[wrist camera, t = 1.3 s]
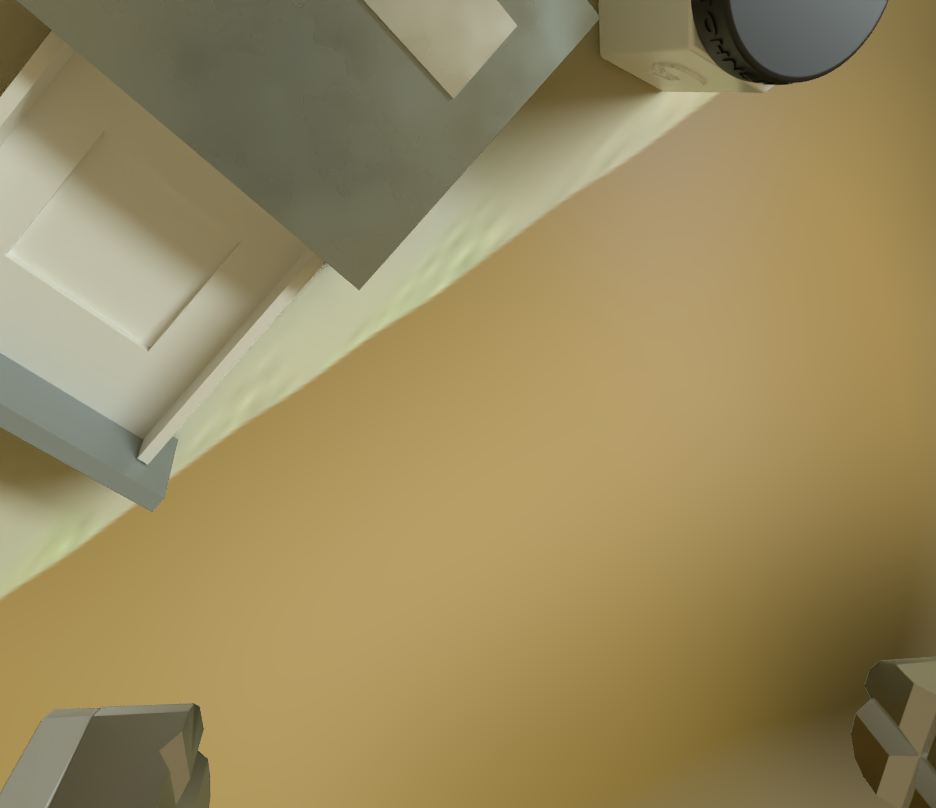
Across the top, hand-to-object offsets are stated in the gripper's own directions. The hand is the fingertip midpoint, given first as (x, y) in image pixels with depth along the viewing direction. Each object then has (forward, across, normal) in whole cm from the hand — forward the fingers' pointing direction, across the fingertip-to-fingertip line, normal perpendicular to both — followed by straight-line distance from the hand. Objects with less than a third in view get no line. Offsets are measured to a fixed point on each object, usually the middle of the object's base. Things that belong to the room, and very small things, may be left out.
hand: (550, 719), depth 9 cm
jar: (+36, -14, -13) cm, 41 cm away
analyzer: (+34, +5, -11) cm, 36 cm away
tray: (+32, +16, +1) cm, 36 cm away
